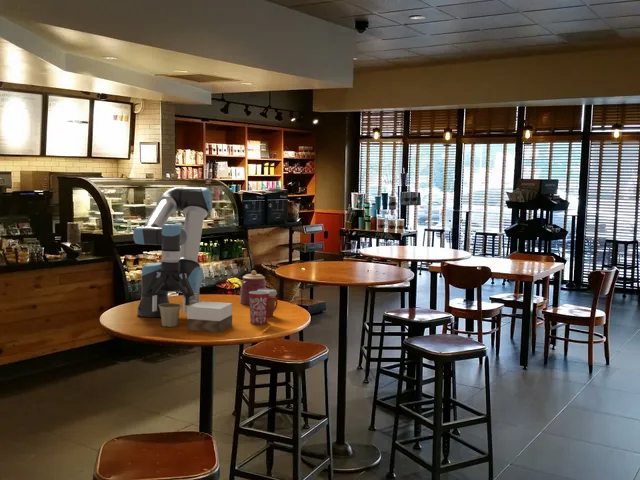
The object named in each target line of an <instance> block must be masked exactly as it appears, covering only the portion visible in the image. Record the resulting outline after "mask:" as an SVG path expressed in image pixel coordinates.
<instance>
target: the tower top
mask: <svg viewBox="0 0 640 480" xmlns="http://www.w3.org/2000/svg"><path fill="white" fill-rule="evenodd" d="M186 314H187V315H186V318H187V320H188V319H198V320H211V321H221V320H223V319H225V318H227V317H229V316H231V315H232V316H233V303H232V302H220V301H206V300H205V301H203V300H201V301H200V300H199V302H198V303H195V304H189V305H187V313H186Z"/></svg>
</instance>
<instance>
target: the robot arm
mask: <svg viewBox="0 0 640 480" xmlns="http://www.w3.org/2000/svg"><path fill="white" fill-rule="evenodd" d="M212 197H213V196H212V192H211V190H210V189H209V188H208V187H202V186H199V187H196V186H195V187H193V186H175V187H173V188H169V189H168V190H166V191H165V192H163V193H162V194H160V196H159V197H158V199H157V200H156V204H155V207H154V208H153V211H152V212H151V214H150V216H148V219H147V220H146V221H145V223H144V225H143V226H136V227H135V228H134V230H133V234H132V237H133V241H134V243H135V244H137V245H146V246H147V245H150V246H151V245H154V246H161V260H162V261H161V262H156V263H149V264H144V265H143V266H142V269H141V299H140V300H139V304H138V307H137V309H136V311H137V313H136V314H137V316H141V317H146V318H147V317H148V318H159V317H160V318H161V312H160V308H159V306H158V305H160V304H165V303H170V300H169V292H170V293H181V292H182V293H183V294H182V293H181V294H182V295H184V296H185V297H184V298H183V297H182V302H183V303H182V314H183V315H185V314H187V306H190V304H189V301H190V297H191V296H195V295H194V292H196V291H198V290H199V291H200V288H201V286H202V282H203V275H204V271H203V268H202V266H201V264H200V263H199V259H198V258H199V253H200V245H201V239H202V232H203V227H204V226H203V225H204V219H205V218H207V217H208V214H209V213H211V212H212V211H213V198H212ZM177 211H180V212H182V213H183V214H184V215H185V219H184V225H183V228H182V227H181V225H180V224H176V223H167V221H168V219H169V218H170V216H171V214H173V213H175V212H177Z"/></svg>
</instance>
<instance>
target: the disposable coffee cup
mask: <svg viewBox="0 0 640 480" xmlns="http://www.w3.org/2000/svg"><path fill="white" fill-rule="evenodd" d="M257 291H267V292H269V297H272V296H273V297H276V296H277V294H278V292H277V289H273V288H266V289H258V290H257ZM276 298H277V297H276ZM275 305H276V301H275V299H273V298H272V299H271V300H270V301H269V303H268V315H269V314H270V313H271V312H272V311H273V309H274V308H275ZM273 316H274V312H273V313H272V315H271V316H270V317H269V318H271V317H273Z"/></svg>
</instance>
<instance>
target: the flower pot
mask: <svg viewBox="0 0 640 480" xmlns="http://www.w3.org/2000/svg"><path fill="white" fill-rule="evenodd" d="M158 306H159V308H160V312H161V317H160V318H161V325H162V327H168V328H172V327H177V326H178V321H179V315H180V310H181V309H182V307H183V304H182V303H175V302H174V303H171V302H169V303H165V304H160V305H158Z"/></svg>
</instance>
